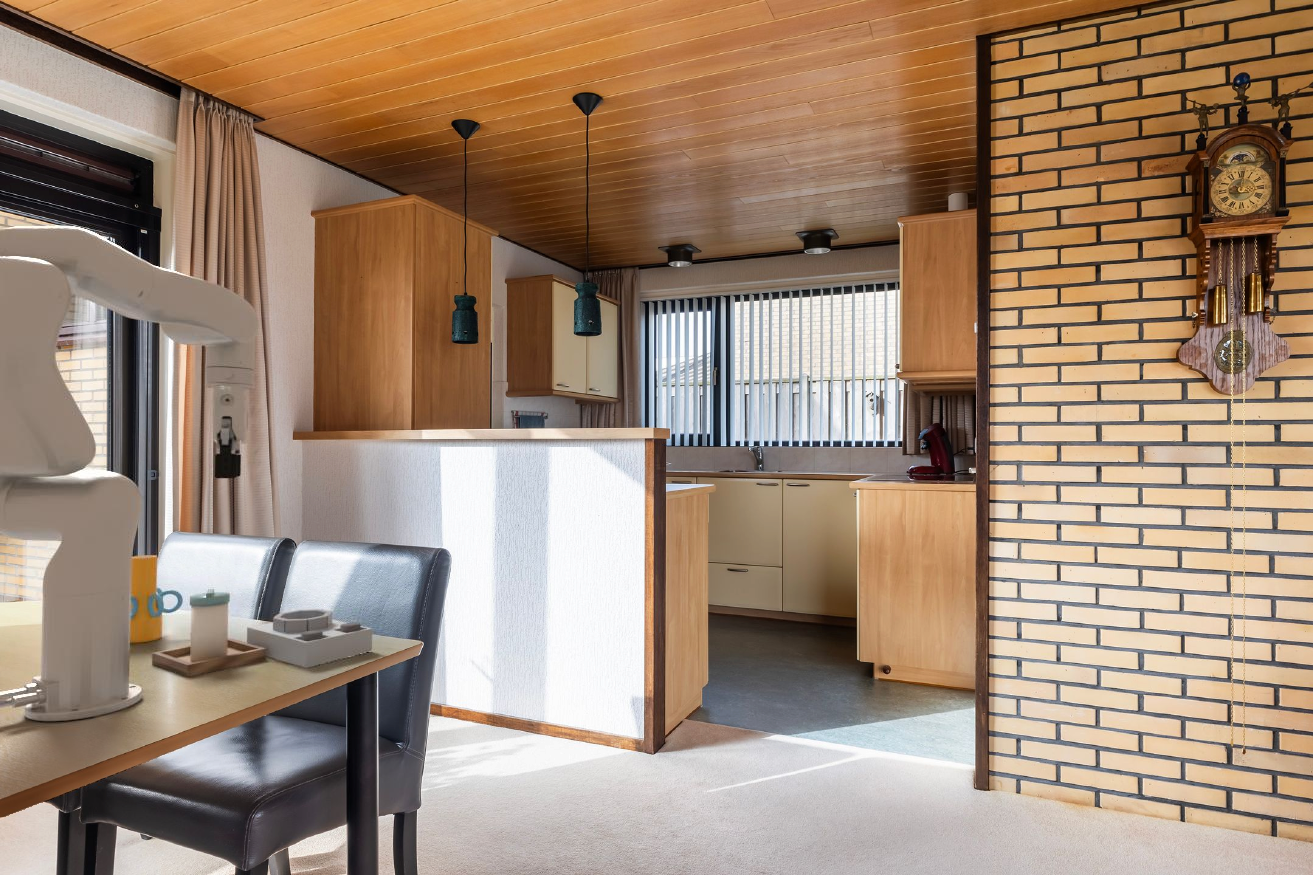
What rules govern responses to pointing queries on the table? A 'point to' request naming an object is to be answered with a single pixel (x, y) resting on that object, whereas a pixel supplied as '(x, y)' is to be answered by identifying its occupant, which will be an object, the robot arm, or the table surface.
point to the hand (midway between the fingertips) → (228, 477)
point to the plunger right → (350, 627)
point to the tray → (181, 662)
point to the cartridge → (209, 625)
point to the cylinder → (147, 600)
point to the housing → (289, 647)
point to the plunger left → (311, 635)
